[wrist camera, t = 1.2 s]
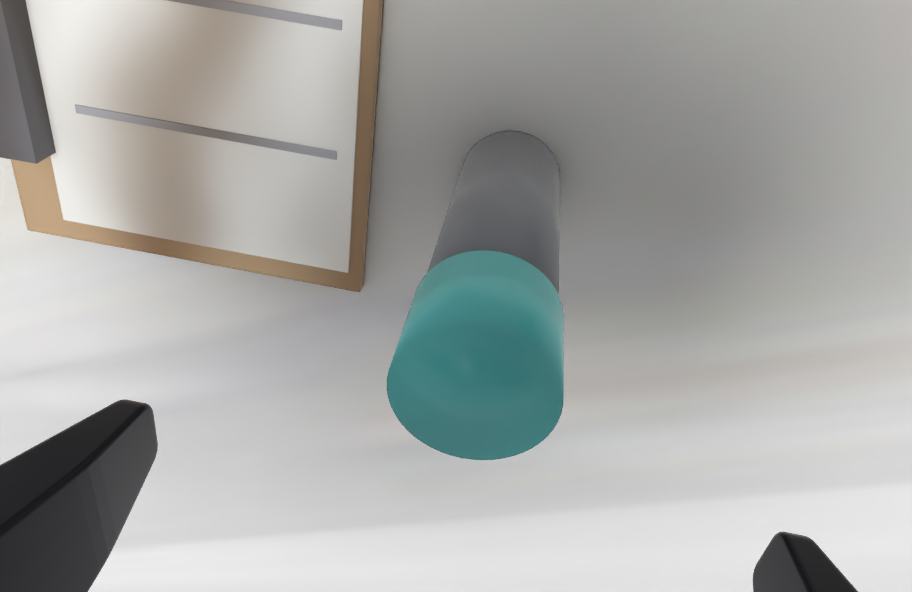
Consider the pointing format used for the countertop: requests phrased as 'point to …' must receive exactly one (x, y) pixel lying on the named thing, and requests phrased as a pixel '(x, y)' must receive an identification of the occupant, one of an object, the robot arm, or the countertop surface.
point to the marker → (488, 311)
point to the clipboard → (197, 128)
